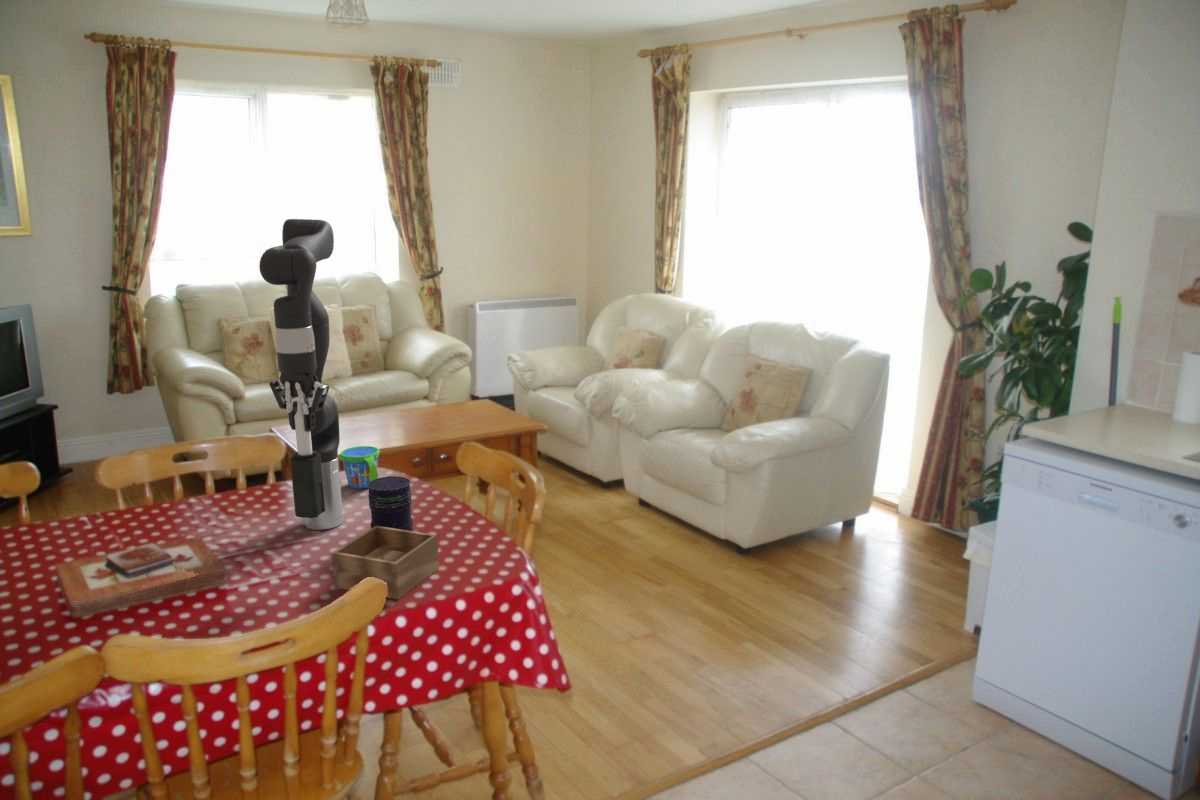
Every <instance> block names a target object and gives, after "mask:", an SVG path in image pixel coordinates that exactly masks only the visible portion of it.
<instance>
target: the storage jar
mask: <svg viewBox="0 0 1200 800" xmlns="http://www.w3.org/2000/svg"><path fill="white" fill-rule="evenodd" d="M367 489H368V495H367V496H368V497H367V498H368V507H369V509H370V514H371V516H370V517H371V521H370V529H371V528H373V527H374V526H382V527H388V528H395V529H401V530H407V531H414V519H413V517H412V508H411V506H412V500H413V499H412V490H411V481H410V479H409V478H407V477H404V476H397V475H396V476H392V475H391V476H383V477H379V478H377V479H375V480H372V481H371V482H369V484H368V488H367ZM414 532H415V531H414Z"/></svg>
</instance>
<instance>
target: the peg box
mask: <svg viewBox="0 0 1200 800" xmlns="http://www.w3.org/2000/svg"><path fill="white" fill-rule="evenodd" d="M439 561H440V560H439V545H438V534H437V535H436V534H432V533H426V532H425V533H424V532H419V531H407V530H401V529H395V528H388V527H382V526H374V527H373V528H371V527H370V529H367V530H366V531H365V532H363V533H361V534H359V535H358V536H357V537H355V538H353V539H352V540H350V541H348V542H346V543H345V544H344V545H342V546H340V547H338V548H337V549H335V550H334V551H332V552H331V563H332V574H333V575H332V578H333V587H334V589H340V590H345V591H349V590H348V589H350V588H351V587H353V586H354V585H356V584H358V583H359V582H360V581H362V580H363V579H365V578H367V577H375V578H378V579H381V580H383V581H384V582H386V583H387V586H388V599H391V598H394V599H393V600H397V599H398V600H397V601H399V600H400V599H402V598H403V597H404V596H406V595H407V594H408V593H409V592H411V591H412V590H413V589H414V588H416V587H417V586H418V585H420V584H421V583H422V582H423V581H425V580H426V579H428V578H429V577H430V576H432V575H433V574H435V572H437V571H438V570H439V569H440V566H439V565H440V564H439ZM436 570H437V571H436ZM432 573H433V574H432ZM428 576H429V577H428ZM415 586H416V587H415ZM410 590H411V591H410ZM401 597H402V598H401Z"/></svg>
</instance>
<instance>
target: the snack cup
mask: <svg viewBox="0 0 1200 800" xmlns="http://www.w3.org/2000/svg"><path fill="white" fill-rule="evenodd" d="M380 454H381V451H380V450H379V448H378V447H376V446H370V445H360V446H354V447H349V448H346V449H344V450H342V451H340V453H339V458H340V459H341V461H342V463H343V468H344V473H345V477H346V480H347V483H348V486H349V487H350V488H352V489H354V490H363V489H368V484H369V482H371V481H372V480H375V479H378V477H379V473H378V463H379V461H378V460H379V456H380Z"/></svg>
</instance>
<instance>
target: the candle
mask: <svg viewBox="0 0 1200 800" xmlns="http://www.w3.org/2000/svg"><path fill="white" fill-rule="evenodd" d="M298 402H299V405H298V410H297V412H296V414H295V416H294V419H295V429H296V430H295V439H296V452H294V453H293V456H291V457H290V459H289V461H290V471H291V473H290V474H291V480H292V491H293V492H292V493H293V494H292V495H293V503H294V515H295V517H296V518H301V517H303V518H316V517H318V516H319V515H320V514H321V513H323V512H325V501H324V490H323V478H322V466H321V455H320V454H319V453H317V452H316V451H314V450H312V442H311V431H310V432H307V431H305V426H304V414H305V413H304V410H303V406H302V404H301V403H300V400H299V401H298Z"/></svg>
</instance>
